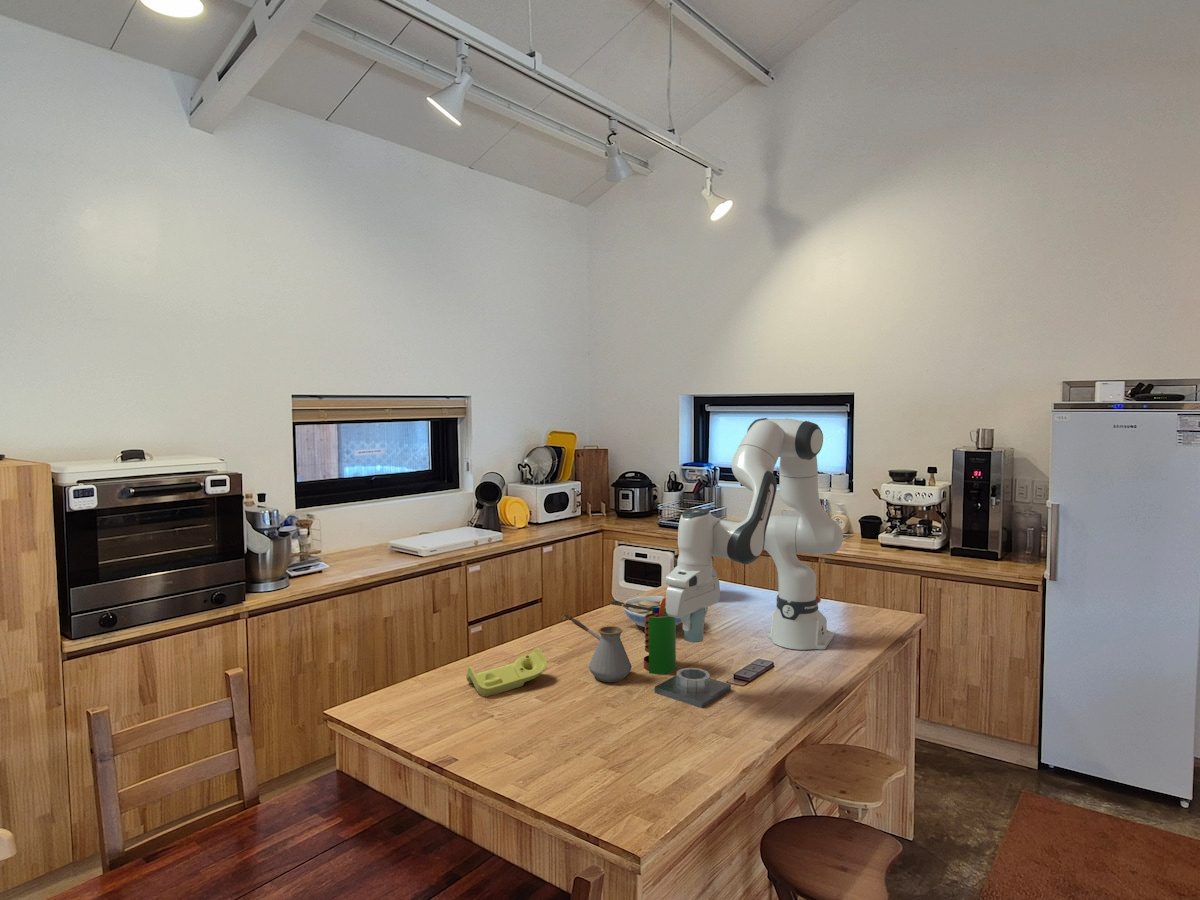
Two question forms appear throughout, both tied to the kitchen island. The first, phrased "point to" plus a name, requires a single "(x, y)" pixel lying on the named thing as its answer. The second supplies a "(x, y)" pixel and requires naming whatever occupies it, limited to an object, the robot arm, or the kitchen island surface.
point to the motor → (660, 641)
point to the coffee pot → (607, 654)
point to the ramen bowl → (641, 608)
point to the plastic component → (508, 674)
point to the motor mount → (693, 687)
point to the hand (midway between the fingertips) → (693, 627)
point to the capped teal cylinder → (695, 627)
